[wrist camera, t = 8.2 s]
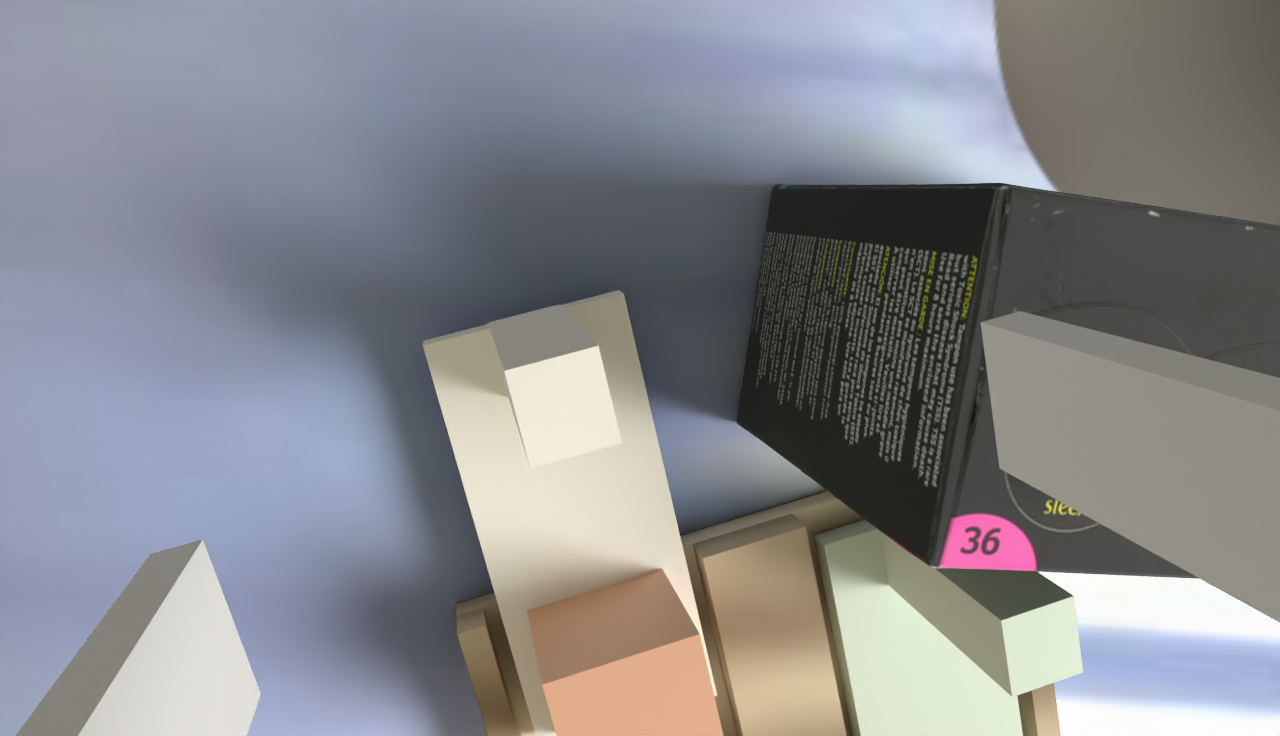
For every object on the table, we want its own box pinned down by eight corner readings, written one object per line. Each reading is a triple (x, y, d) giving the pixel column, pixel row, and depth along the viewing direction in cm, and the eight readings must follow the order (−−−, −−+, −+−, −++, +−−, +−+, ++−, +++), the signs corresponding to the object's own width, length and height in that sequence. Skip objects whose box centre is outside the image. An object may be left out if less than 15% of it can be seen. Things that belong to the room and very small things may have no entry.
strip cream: (421, 334, 31) (415, 394, 22) (617, 284, 32) (682, 323, 23) (538, 738, 35) (571, 922, 26) (709, 681, 36) (795, 840, 27)
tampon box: (730, 424, 35) (921, 585, 21) (764, 178, 34) (995, 177, 20) (986, 442, 38) (1308, 597, 24) (1029, 213, 36) (1402, 234, 22)
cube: (527, 610, 33) (542, 684, 28) (662, 568, 33) (699, 633, 29) (561, 732, 34) (581, 823, 29) (691, 689, 35) (731, 770, 30)
